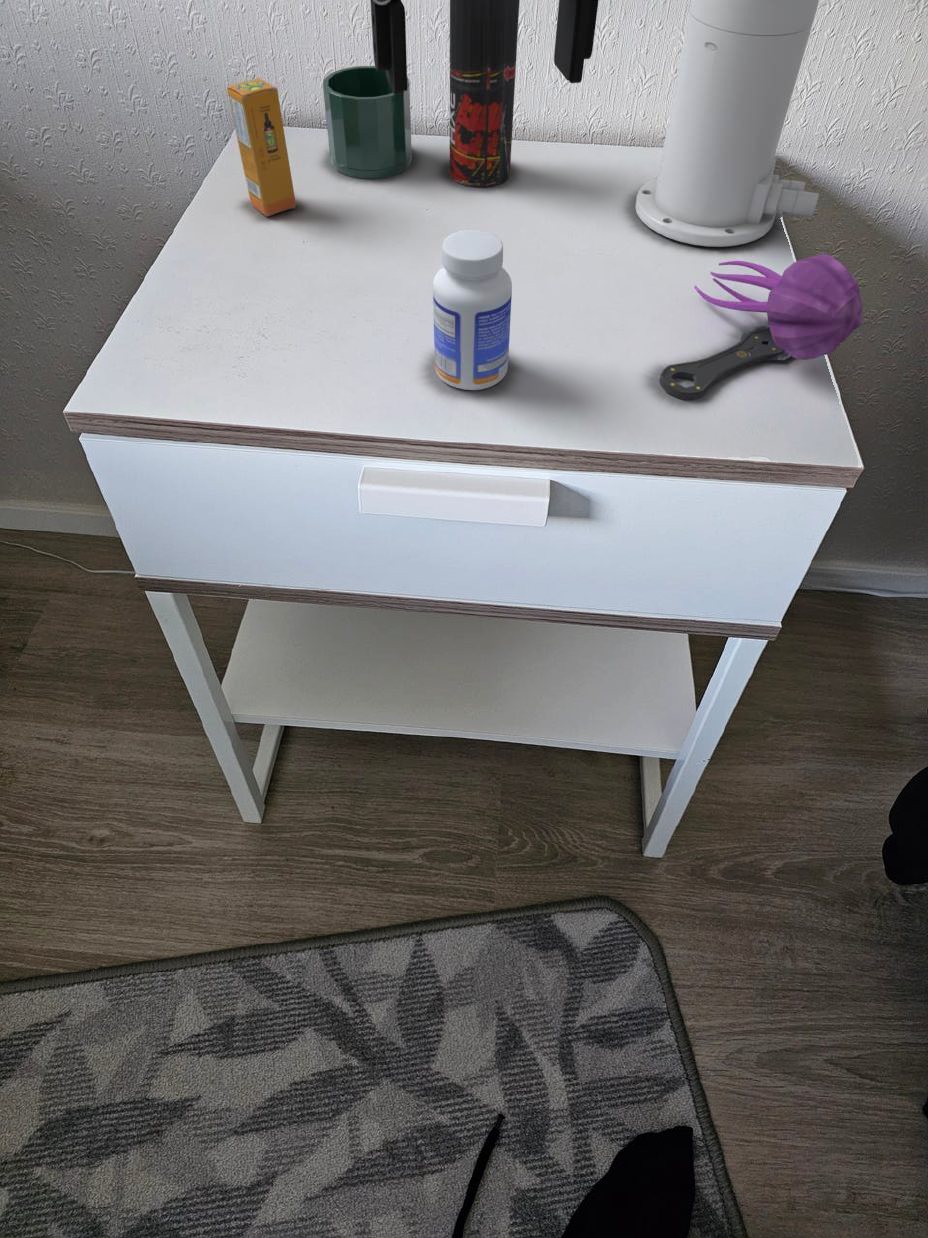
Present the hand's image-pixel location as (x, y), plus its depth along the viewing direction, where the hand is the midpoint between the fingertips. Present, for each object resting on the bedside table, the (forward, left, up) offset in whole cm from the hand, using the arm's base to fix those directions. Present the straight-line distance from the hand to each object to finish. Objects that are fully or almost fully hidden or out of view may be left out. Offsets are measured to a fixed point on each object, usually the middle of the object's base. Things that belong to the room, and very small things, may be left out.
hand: (482, 79), depth 46 cm
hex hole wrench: (-20, -11, -19) cm, 30 cm away
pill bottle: (+1, -1, -20) cm, 20 cm away
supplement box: (+26, -19, -20) cm, 38 cm away
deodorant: (+10, -32, -20) cm, 39 cm away
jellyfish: (-14, -18, -18) cm, 29 cm away
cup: (+21, -31, -20) cm, 42 cm away
